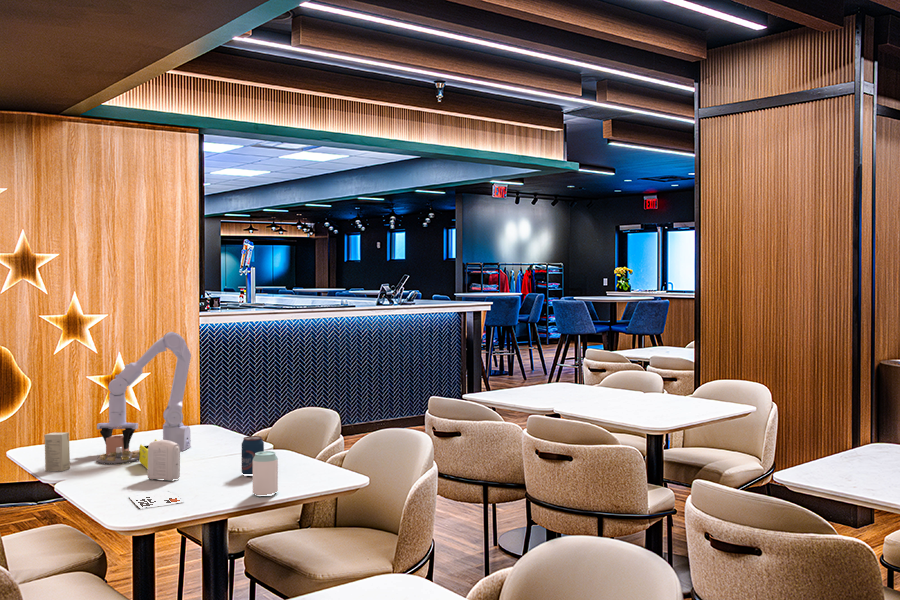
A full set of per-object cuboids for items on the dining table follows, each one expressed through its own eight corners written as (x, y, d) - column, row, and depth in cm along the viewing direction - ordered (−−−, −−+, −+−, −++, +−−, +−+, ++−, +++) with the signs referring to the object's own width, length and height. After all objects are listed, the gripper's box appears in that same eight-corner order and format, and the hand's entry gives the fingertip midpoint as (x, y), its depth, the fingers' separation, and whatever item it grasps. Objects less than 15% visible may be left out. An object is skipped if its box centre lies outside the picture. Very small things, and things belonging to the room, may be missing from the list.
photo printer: (182, 479, 235) (182, 439, 235) (173, 482, 231) (173, 442, 231) (154, 477, 238) (154, 438, 238) (145, 480, 234) (145, 440, 234)
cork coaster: (160, 450, 279) (160, 449, 279) (149, 455, 270) (149, 454, 270) (136, 450, 280) (136, 449, 280) (125, 455, 271) (125, 454, 271)
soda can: (237, 476, 238) (237, 438, 238) (250, 471, 245) (250, 435, 245) (255, 478, 236) (255, 440, 236) (268, 473, 242) (268, 436, 242)
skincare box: (70, 468, 250) (70, 432, 250) (62, 471, 245) (62, 434, 245) (52, 468, 250) (52, 431, 250) (44, 471, 246) (44, 434, 246)
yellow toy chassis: (166, 470, 247) (166, 445, 247) (148, 473, 244) (148, 447, 244) (155, 462, 261) (155, 438, 261) (138, 464, 257) (138, 439, 257)
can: (254, 498, 211) (254, 456, 211) (250, 493, 218) (250, 451, 218) (279, 496, 214) (279, 454, 214) (275, 490, 220) (275, 449, 220)
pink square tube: (129, 451, 277) (129, 435, 277) (121, 454, 271) (121, 438, 271) (113, 451, 278) (113, 435, 278) (106, 454, 272) (105, 438, 272)
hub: (147, 456, 270) (147, 443, 270) (129, 464, 256) (129, 451, 256) (109, 455, 271) (109, 443, 271) (89, 464, 257) (89, 451, 257)
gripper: (92, 413, 271) (92, 450, 271) (131, 413, 270) (132, 450, 270) (102, 410, 278) (102, 446, 278) (140, 410, 277) (140, 447, 277)
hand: (117, 448), depth 274 cm, fingers closed on pink square tube, 6 cm apart
